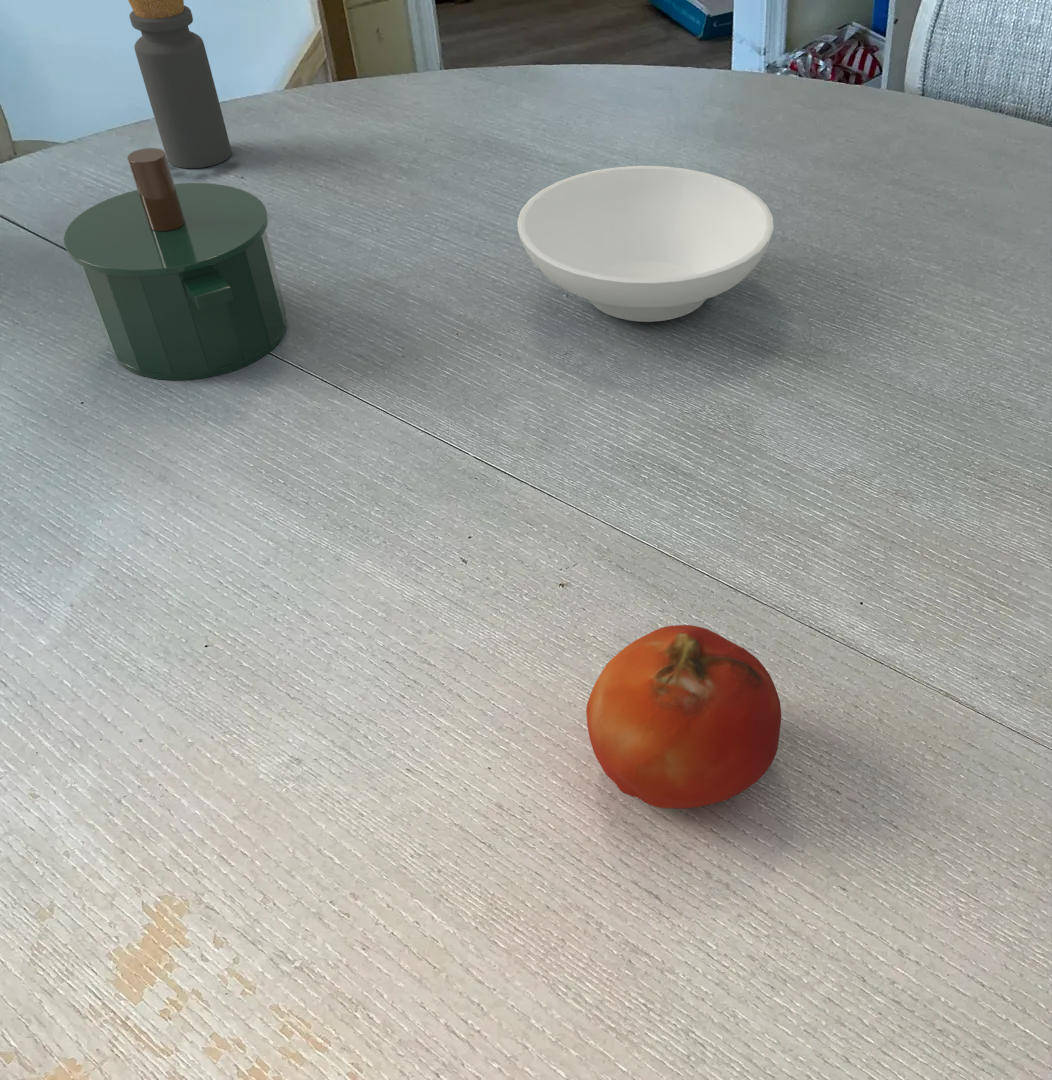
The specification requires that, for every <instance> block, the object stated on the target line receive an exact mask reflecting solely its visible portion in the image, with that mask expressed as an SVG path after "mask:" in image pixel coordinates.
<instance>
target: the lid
mask: <svg viewBox="0 0 1052 1080" xmlns="http://www.w3.org/2000/svg"><path fill="white" fill-rule="evenodd" d="M126 159H127V163H128V166H129V169H130V171H131V174H132V175H131V176H132V178H133V182H134V184H135V188H136V190H131V191H128V192H125V193H121V194H118V195H115V196H112V197H110V198H108V199H105V200H103V201H100V202H98V203H96V204H94V205H92V206H90V207H89V208H87V209H85V210H84V211H83V212H81V213H80V214H79V215H78V216H76V217H75V218H74V219H73V220H72V221H71V222H70V224H68V226H67V227H66V230H65V231H64V235H63V244H64V245H63V246H64V247H65V250H66V252H67V254H68V256H69V257H70V258H71V259H72V261H74V262H75V263H77V264H78V266H79V265H81V266H83V267H85V268H87V269H90V270H93V271H96V272H100V273H104V274H110V275H117V276H130V277H147V276H161V275H170V274H176V273H182V272H187V271H192V270H196V269H200V268H203V267H207V266H210V265H213V264H216V263H219V262H221V261H224V260H226V259H229V258H231V257H233V256H235V255H237V254H239V253H241V252H242V251H244V250H246V249H247V248H249V247H250V246H251V245H253V244H254V243H255V242H256V241H257V240H258V239H259V238H260V237H261V236H262V235H263V234H264V232H265V230H266V231H267V229H268V224H269V215H268V211H267V208H266V206H265V205H264V203H263V202H262V200H261V199H259V198H258V197H257V196H255V195H254V194H252V193H250V192H248V191H246V190H244V189H241V188H237V187H234V186H230V185H224V184H219V183H218V184H217V183H208V182H207V183H205V182H183V183H181V182H180V183H175V182H174V178H173V175H172V172H171V168H170V163H169V161H168V159H167V156H166V153H165V150H164V149H162V148H156V147H155V148H154V147H148V148H141V149H137V150H134V151H132V152H131V153H129V154H128V155H127V156H126Z"/></svg>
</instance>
